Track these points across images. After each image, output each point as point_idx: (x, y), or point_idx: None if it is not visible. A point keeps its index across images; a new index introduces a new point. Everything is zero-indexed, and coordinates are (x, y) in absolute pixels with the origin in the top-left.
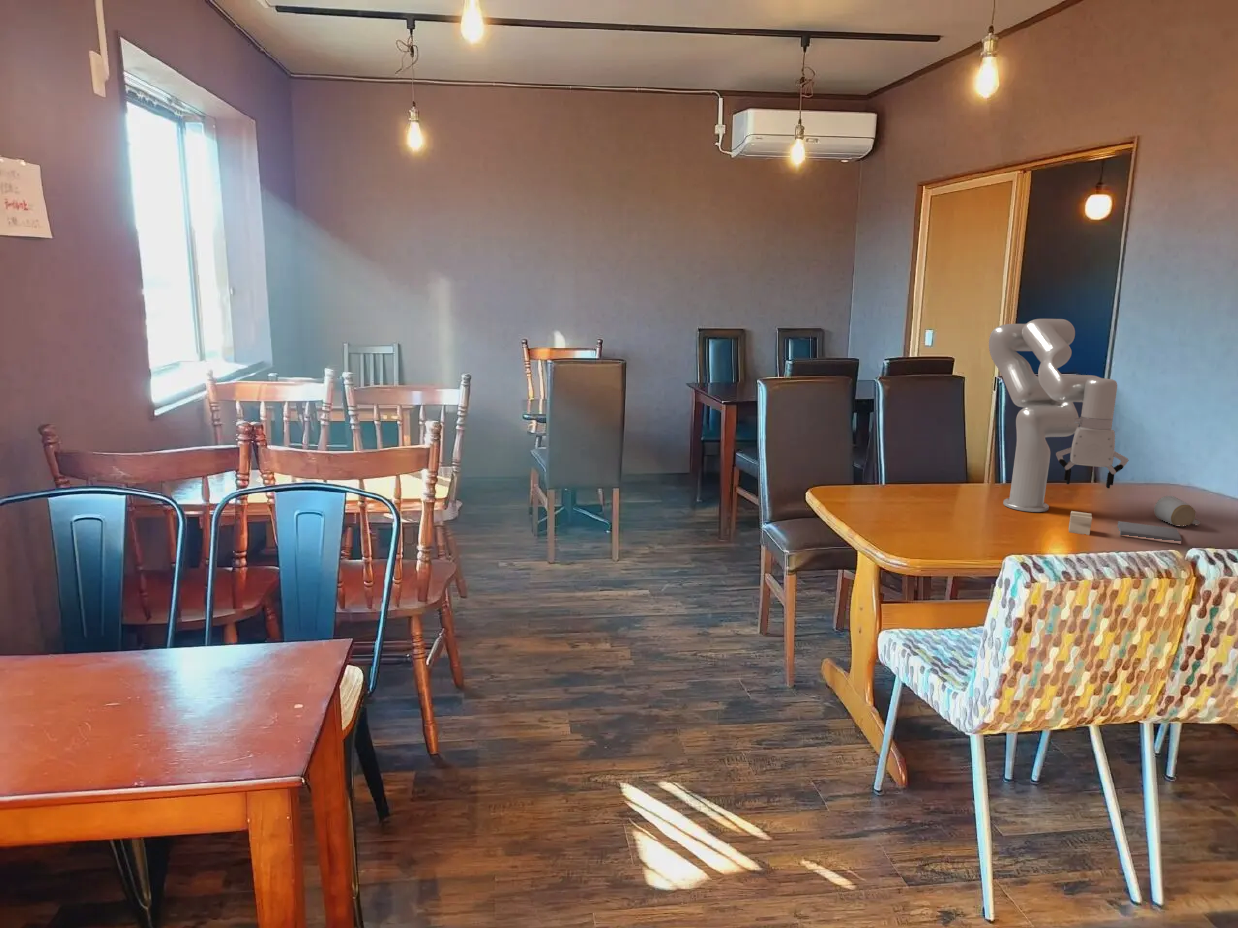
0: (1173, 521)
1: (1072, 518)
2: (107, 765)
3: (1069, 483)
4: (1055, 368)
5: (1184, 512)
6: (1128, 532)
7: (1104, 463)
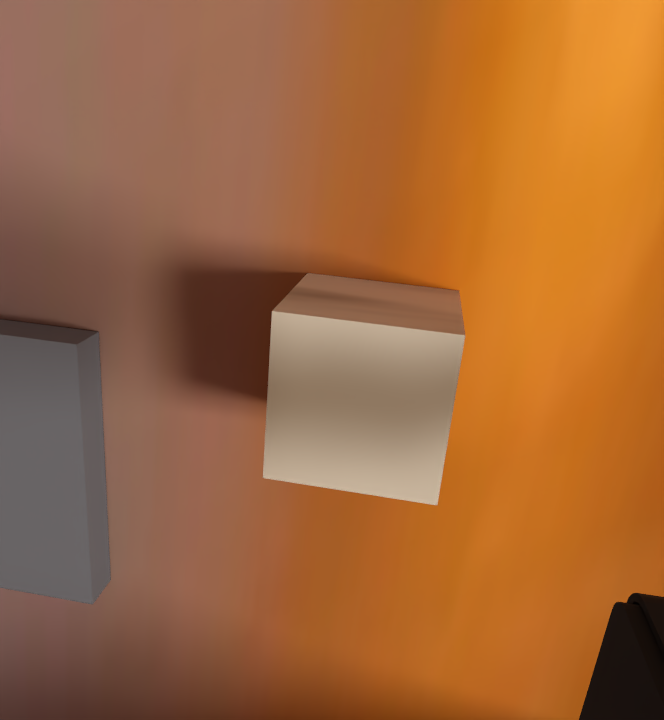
0: None
1: (450, 322)
2: None
3: (621, 604)
4: None
5: None
6: (29, 337)
7: None
